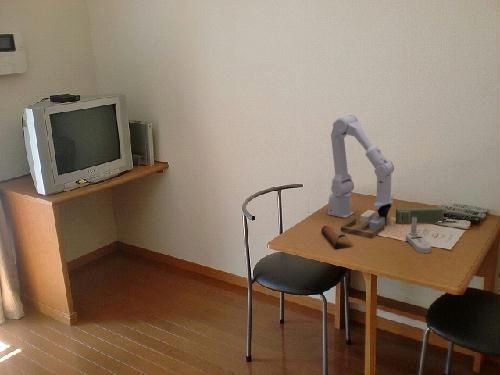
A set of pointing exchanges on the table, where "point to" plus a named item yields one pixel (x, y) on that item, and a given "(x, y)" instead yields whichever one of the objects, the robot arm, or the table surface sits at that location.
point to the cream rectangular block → (367, 216)
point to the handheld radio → (420, 215)
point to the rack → (361, 229)
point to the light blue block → (376, 222)
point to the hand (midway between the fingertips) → (382, 220)
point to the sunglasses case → (336, 237)
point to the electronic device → (417, 239)
